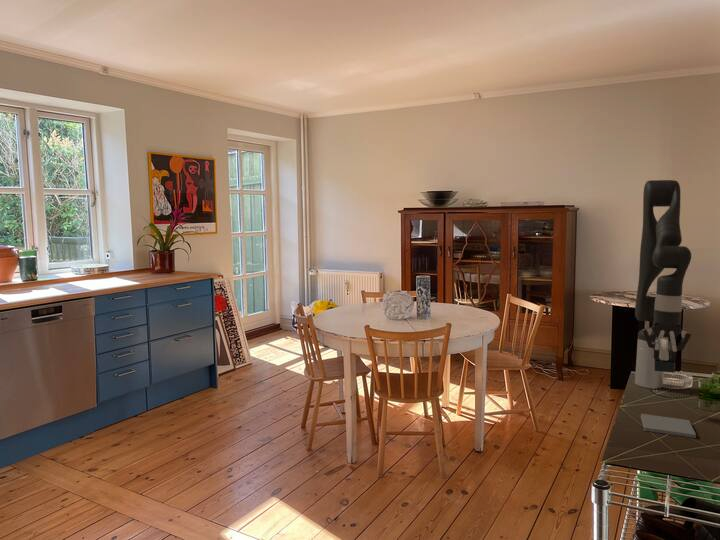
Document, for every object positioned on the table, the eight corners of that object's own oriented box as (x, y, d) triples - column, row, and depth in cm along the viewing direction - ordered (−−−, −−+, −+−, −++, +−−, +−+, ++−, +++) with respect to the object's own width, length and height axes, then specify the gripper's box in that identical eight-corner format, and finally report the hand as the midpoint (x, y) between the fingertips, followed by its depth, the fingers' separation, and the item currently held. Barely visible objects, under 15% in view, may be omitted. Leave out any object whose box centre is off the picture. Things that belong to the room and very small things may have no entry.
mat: (640, 416, 170) (640, 413, 170) (688, 423, 165) (688, 420, 165) (644, 430, 159) (644, 427, 159) (695, 438, 154) (696, 434, 154)
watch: (675, 367, 176) (674, 334, 175) (674, 373, 169) (674, 339, 168) (655, 366, 179) (655, 333, 178) (654, 372, 172) (653, 338, 171)
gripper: (691, 308, 173) (687, 361, 175) (641, 305, 178) (638, 356, 180) (695, 312, 166) (691, 367, 168) (643, 309, 171) (640, 362, 173)
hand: (664, 361), depth 174 cm, fingers closed on watch, 3 cm apart
